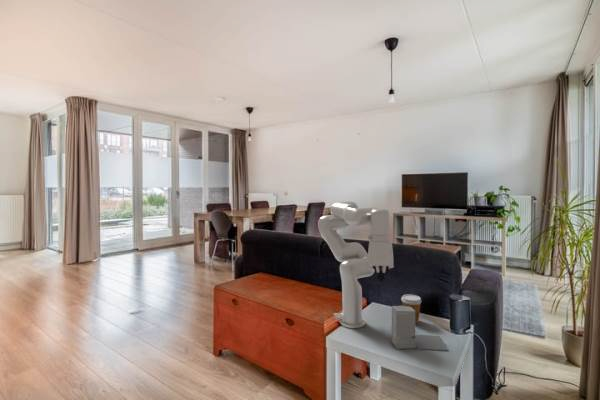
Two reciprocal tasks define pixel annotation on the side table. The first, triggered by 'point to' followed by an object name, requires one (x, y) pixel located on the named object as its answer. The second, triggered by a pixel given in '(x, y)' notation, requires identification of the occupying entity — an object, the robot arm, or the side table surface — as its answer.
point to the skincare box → (403, 327)
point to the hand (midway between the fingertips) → (380, 281)
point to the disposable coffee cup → (412, 304)
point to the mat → (430, 343)
